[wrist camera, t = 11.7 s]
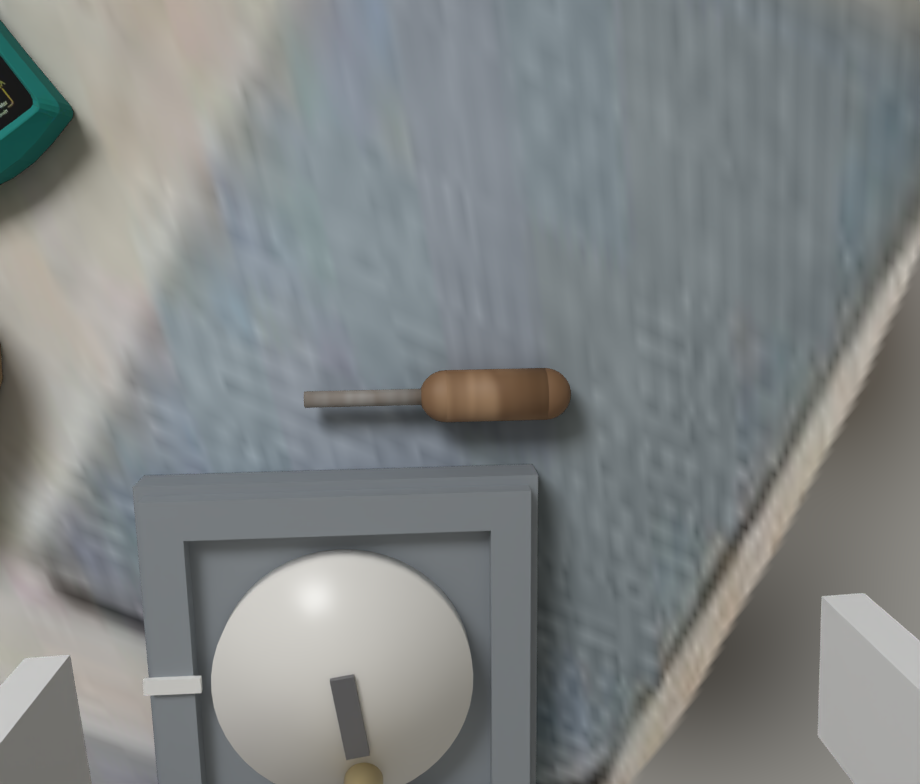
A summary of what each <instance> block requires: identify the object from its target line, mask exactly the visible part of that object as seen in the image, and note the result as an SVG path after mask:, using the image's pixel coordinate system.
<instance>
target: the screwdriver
mask: <svg viewBox="0 0 920 784" xmlns="http://www.w3.org/2000/svg"><path fill="white" fill-rule="evenodd" d="M570 398H571V390H570V386H569V383H568V381H567V380H566V378H565V377H564V376H563V375H562V374H561V373H559V372H557V371H555V370H553V369H549V368H528V369H482V370H444V371H438V372H435V373H434V374H432V375H430V376H429V377H428V378H427V379H426V380H425V382H424V383H423V385H422V387H421V389H393V390H350V391H307V392H304V407H305V408H312V407H353V406H394V405H422V407H423V409H424V411H425V412H426V413H427V415H429V416H430V417H431V418H433V419H435V420H437V421H440V422H474V421H513V420H547V419H552V418H555V417H557V416H559V415H560V414H562V413H563V412H564V411H565V409H566V408H567V406H568V404H569V402H570Z"/></svg>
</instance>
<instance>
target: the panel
mask: <svg viewBox="0 0 920 784" xmlns="http://www.w3.org/2000/svg"><path fill="white" fill-rule="evenodd" d="M133 499H134V510H135V522H136V534H137V545H138V557H139V569H140V580H141V592H142V603H143V615H144V627H145V638H146V650H147V662H148V673H149V678H144V680H143V691H144V696H151V708H152V720H153V731H154V743H155V755H156V766H157V778H158V784H275V783H273V782H271V781H269V780H268V779H266V778H265V777H263V776H262V775H260V774H259V773H257V772H256V771H255V770H254V769H253V768H252V767H250V766H249V765H248V764H247V763H246V762H245V761H244V760H243V759H242V758H241V757H240V756H239V754H238V753H237V752H236V751H235V750H234V748H233V747H232V745H231V744H230V742H229V741H228V739H227V738H226V736H225V734H224V732H223V730H222V728H221V726H220V724H219V721H218V718H217V715H216V712H215V709H214V704H213V698H212V692H211V673H212V665H213V659H214V655H215V651H216V648H217V644H218V642H219V640H220V637H221V635H222V633H223V631H224V628H225V626H226V624H227V621H228V619H229V617H230V615H231V613H232V612H233V610H234V608H235V607H236V605H237V604H238V602H239V601H240V600H241V598H242V597H243V596H244V595H245V594H246V592H247V591H248V590H249V589H250V588H251V587H252V586H253V585H254V584H255V583H257V582H258V581H259V580H260V579H261V578H262V577H264V576H265V575H267V574H268V573H269V572H271V571H272V570H274V569H275V568H277V567H279V566H281V565H283V564H285V563H287V562H288V561H291V560H294V559H296V558H299V557H301V556H304V555H308V554H312V553H316V552H320V551H328V550H336V549H356V550H364V551H371V552H375V553H379V554H383V555H387V556H390V557H392V558H395V559H397V560H400V561H402V562H405V563H406V564H408V565H410V566H412V567H413V568H415V569H417V570H419V571H420V572H421V573H423V574H424V575H425V576H427V577H428V578H429V579H431V580H432V581H433V582H434V583H435V584H436V585H437V586H438V587H439V588H440V589H441V590H442V591H443V592H444V593H445V595H446V596H447V597H448V599H449V600H450V601H451V602H452V604H453V606H454V607H455V609H456V611H457V612H458V614H459V616H460V618H461V621H462V623H463V625H464V628H465V630H466V634H467V638H468V642H469V647H470V653H471V659H472V668H473V691H472V697H471V702H470V707H469V710H468V713H467V716H466V719H465V722H464V724H463V726H462V728H461V730H460V732H459V734H458V736H457V737H456V739H455V740H454V742H453V743H452V745H451V746H450V748H449V749H448V750H447V751H446V752H445V753H444V754H443V756H442V757H441V758H440V759H439V760H438V761H437V762H436V763H435V764H434V765H432V766H431V767H430V768H429V769H428V770H427V771H425V772H424V773H423V774H421V775H420V776H418V777H417V778H415V779H414V780H412V781H410V782H408V783H406V784H536V716H537V568H538V474H537V472H536V470H535V468H534V467H533V465H532V464H521V465H486V466H452V467H418V468H384V469H350V470H316V471H282V472H247V473H213V474H179V475H145V476H143V477H142V478H141V479H140V480H139V481H138V482H137V483H136V484H135V485H134V486H133Z"/></svg>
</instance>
